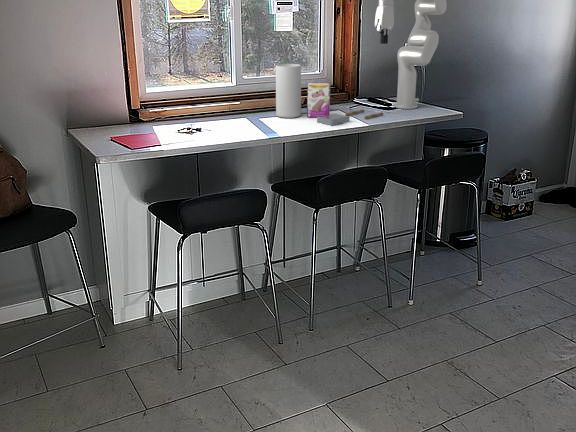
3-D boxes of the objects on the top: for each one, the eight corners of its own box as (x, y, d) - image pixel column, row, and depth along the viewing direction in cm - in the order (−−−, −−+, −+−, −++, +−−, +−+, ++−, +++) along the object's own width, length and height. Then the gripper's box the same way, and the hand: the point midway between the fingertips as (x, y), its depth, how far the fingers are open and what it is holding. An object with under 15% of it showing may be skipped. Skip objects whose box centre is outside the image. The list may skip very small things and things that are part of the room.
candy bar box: (306, 117, 314) (307, 84, 309) (307, 115, 319) (307, 83, 313) (329, 118, 313) (329, 84, 308) (329, 116, 318) (330, 83, 312)
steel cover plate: (335, 119, 312) (335, 113, 311) (349, 122, 304) (349, 116, 303) (317, 122, 304) (317, 116, 303) (331, 125, 297) (331, 119, 296)
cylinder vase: (300, 113, 325) (300, 63, 317) (301, 118, 313) (301, 66, 305) (276, 113, 325) (275, 64, 317) (276, 118, 313) (275, 66, 305)
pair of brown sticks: (362, 112, 327) (362, 109, 327) (383, 115, 319) (383, 112, 318) (345, 116, 318) (345, 113, 317) (366, 119, 309) (366, 116, 309)
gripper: (388, 3, 310) (386, 42, 316) (369, 4, 299) (368, 44, 306) (401, 3, 305) (399, 43, 311) (382, 4, 295) (381, 44, 301)
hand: (383, 43), depth 308 cm, fingers closed
